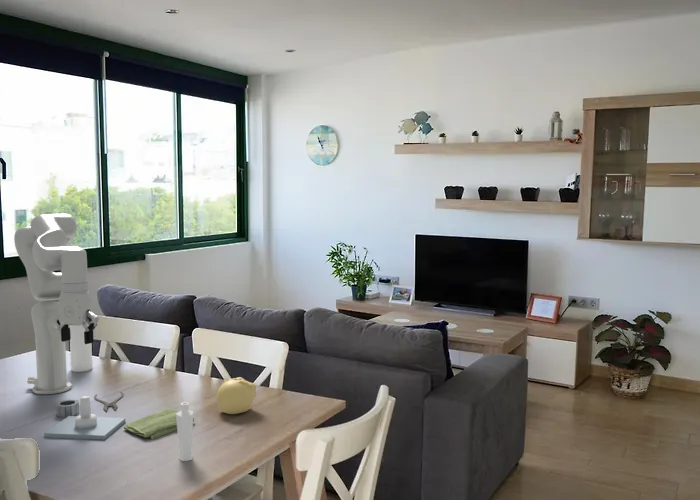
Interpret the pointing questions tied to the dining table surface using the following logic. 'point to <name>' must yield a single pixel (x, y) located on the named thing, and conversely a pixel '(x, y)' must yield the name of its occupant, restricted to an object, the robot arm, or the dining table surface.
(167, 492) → the dining table surface
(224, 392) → the pale yellow round lump
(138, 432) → the washcloth
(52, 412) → the dining table surface
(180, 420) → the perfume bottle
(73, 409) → the ring
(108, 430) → the piston block
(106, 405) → the pliers
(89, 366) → the bottle
